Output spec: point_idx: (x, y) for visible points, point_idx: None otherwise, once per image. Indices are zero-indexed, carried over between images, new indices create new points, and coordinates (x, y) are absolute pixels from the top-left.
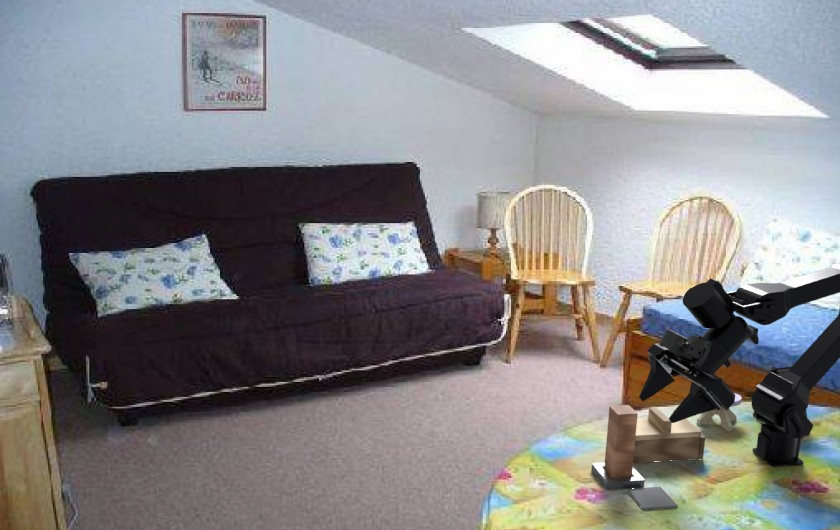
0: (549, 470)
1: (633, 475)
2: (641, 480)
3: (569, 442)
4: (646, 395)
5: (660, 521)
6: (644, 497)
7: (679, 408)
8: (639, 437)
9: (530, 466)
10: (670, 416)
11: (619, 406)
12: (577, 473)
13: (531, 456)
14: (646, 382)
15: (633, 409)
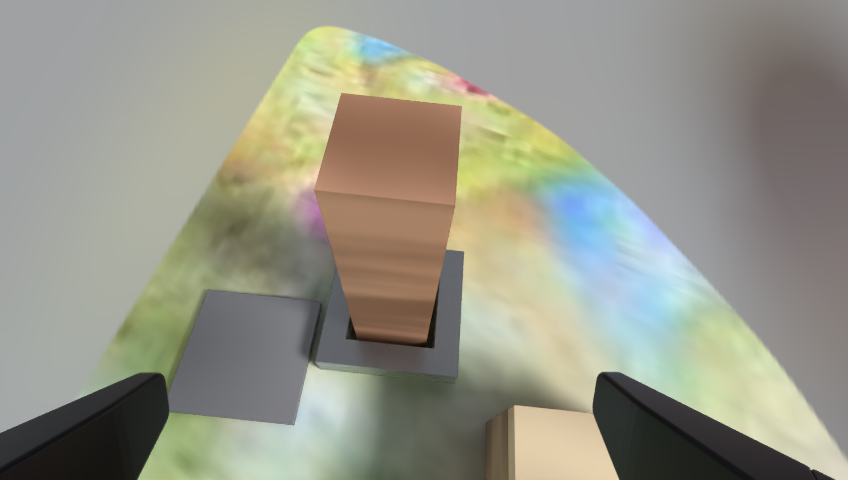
0: (484, 169)
1: (356, 340)
2: (318, 350)
3: (653, 287)
4: (620, 435)
5: (137, 309)
6: (254, 325)
7: (5, 437)
8: (512, 437)
9: (511, 140)
10: (142, 380)
11: (442, 145)
12: (455, 223)
13: (564, 160)
14: (759, 451)
15: (377, 195)
